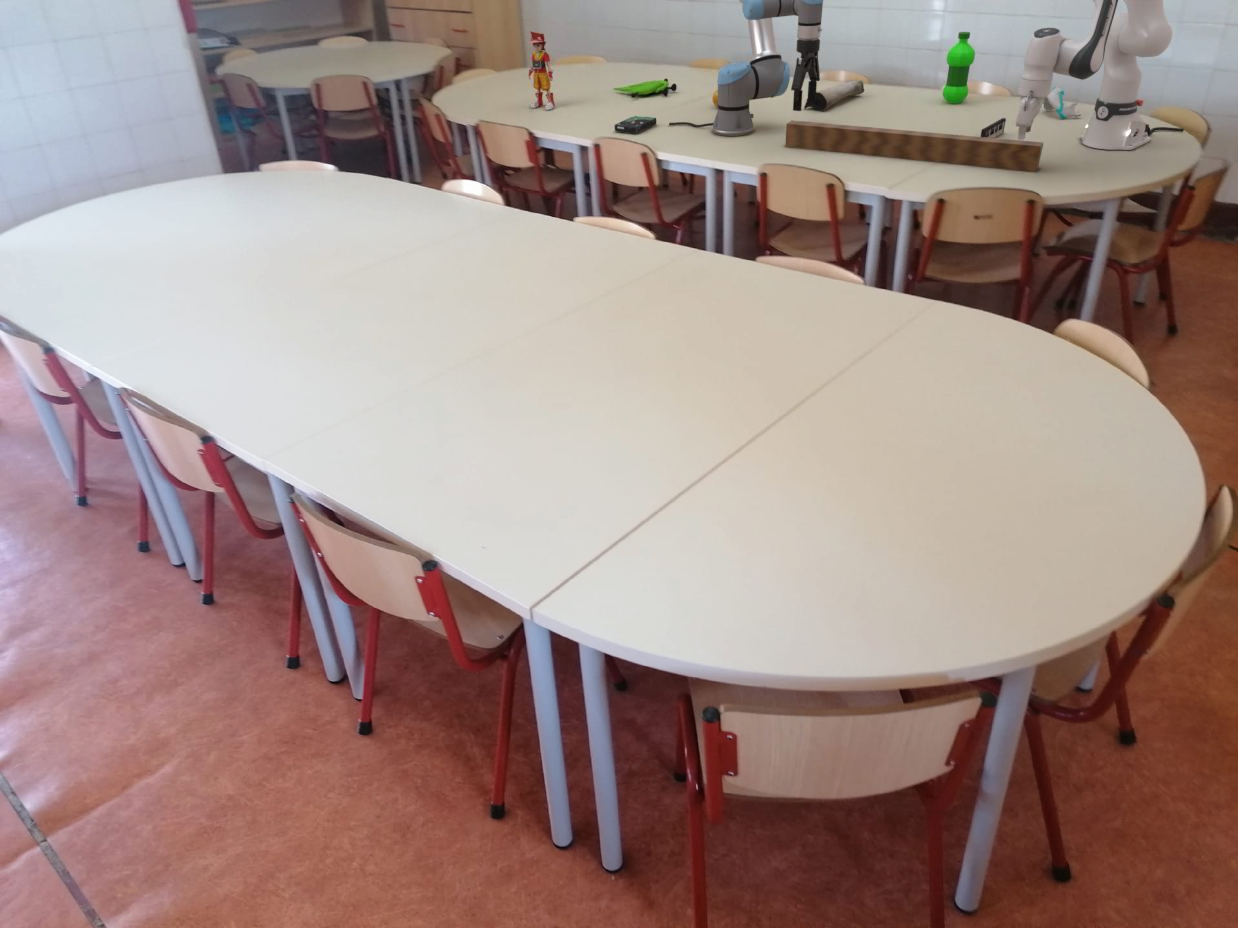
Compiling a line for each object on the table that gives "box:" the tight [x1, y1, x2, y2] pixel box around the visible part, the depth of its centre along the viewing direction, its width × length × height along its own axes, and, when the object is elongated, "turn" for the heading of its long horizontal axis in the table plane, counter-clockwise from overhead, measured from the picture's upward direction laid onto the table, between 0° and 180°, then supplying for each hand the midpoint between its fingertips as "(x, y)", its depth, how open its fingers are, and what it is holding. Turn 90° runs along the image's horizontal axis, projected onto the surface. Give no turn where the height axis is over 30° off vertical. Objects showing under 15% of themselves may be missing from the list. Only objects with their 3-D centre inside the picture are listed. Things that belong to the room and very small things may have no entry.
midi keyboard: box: [980, 117, 1007, 138], centre depth 310 cm, size 18×1×5 cm, turn 138°
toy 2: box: [612, 78, 677, 99], centre depth 396 cm, size 28×5×30 cm
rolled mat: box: [803, 79, 865, 112], centre depth 362 cm, size 30×9×10 cm
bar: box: [784, 120, 1044, 173], centre depth 298 cm, size 83×5×8 cm, turn 59°
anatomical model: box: [1042, 87, 1082, 119], centre depth 330 cm, size 15×10×10 cm
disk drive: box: [614, 115, 657, 135], centre depth 346 cm, size 10×3×15 cm
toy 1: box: [527, 31, 556, 111], centre depth 374 cm, size 12×9×30 cm
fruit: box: [712, 89, 718, 108], centre depth 365 cm, size 8×8×8 cm
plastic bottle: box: [942, 31, 976, 104], centre depth 348 cm, size 10×10×25 cm
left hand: (804, 106), depth 308 cm, fingers open, 13 cm apart
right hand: (1023, 135), depth 278 cm, fingers open, 8 cm apart
